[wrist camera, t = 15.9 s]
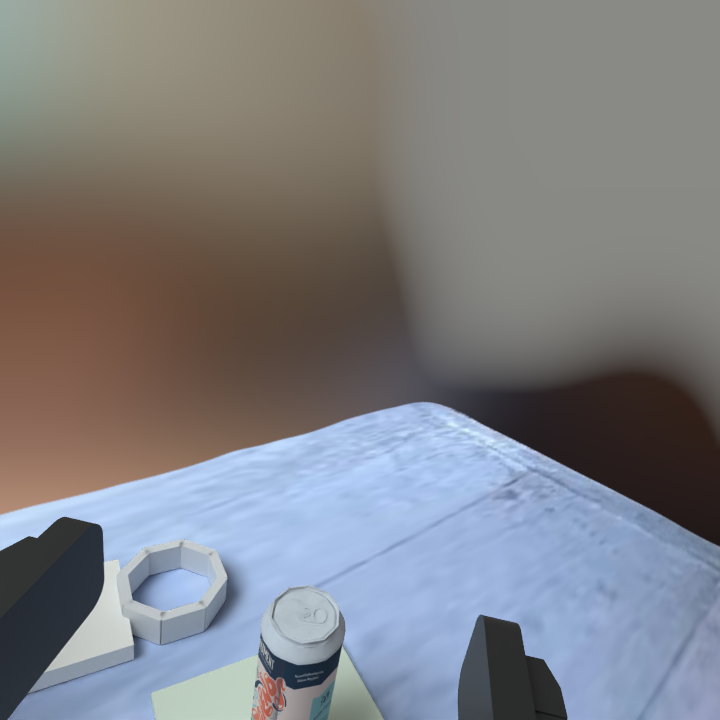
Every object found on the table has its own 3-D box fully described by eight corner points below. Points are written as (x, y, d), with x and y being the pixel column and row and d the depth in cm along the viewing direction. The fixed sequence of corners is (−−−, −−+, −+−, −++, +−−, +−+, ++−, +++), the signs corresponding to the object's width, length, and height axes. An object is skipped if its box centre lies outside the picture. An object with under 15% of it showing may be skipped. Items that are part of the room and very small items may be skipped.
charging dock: (207, 551, 49) (208, 529, 48) (236, 626, 42) (238, 603, 41) (-92, 623, 38) (-97, 597, 37) (-120, 741, 31) (-128, 713, 30)
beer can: (254, 709, 35) (270, 574, 31) (323, 717, 36) (349, 584, 31) (238, 788, 31) (254, 644, 27) (317, 797, 31) (346, 656, 27)
